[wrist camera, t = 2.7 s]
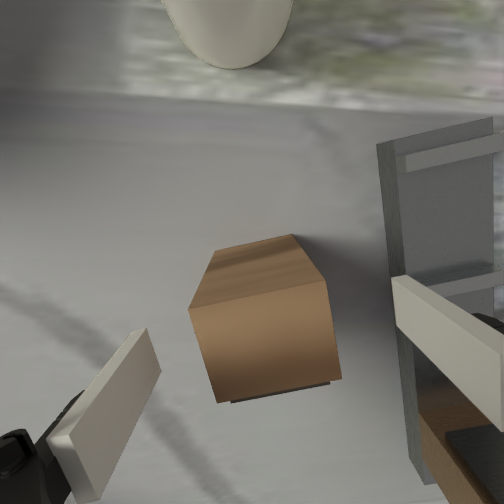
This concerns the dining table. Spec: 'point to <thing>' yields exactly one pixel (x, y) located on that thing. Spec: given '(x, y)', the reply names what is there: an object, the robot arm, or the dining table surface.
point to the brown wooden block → (264, 321)
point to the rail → (445, 294)
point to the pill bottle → (229, 28)
